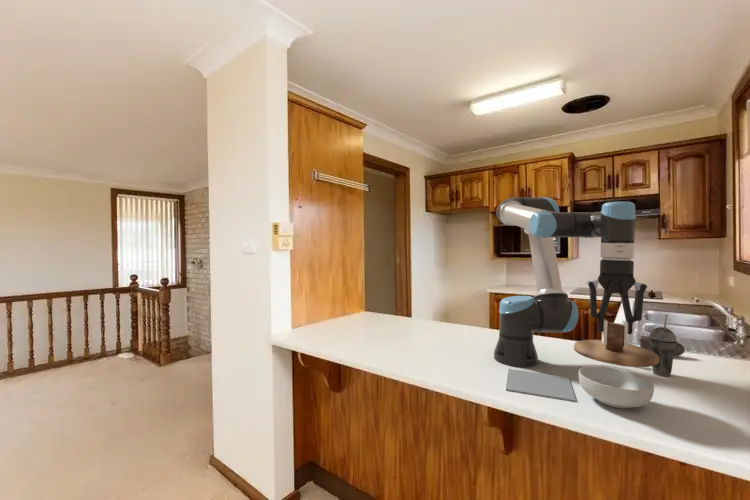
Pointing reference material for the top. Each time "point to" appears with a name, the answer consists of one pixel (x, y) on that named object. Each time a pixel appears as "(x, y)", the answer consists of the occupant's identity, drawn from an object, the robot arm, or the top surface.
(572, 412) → the top surface
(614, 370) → the cereal bowl
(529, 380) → the mat
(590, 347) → the lid
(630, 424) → the top surface
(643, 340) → the perforated stone tool
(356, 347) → the top surface
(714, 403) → the top surface
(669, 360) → the beverage cup
